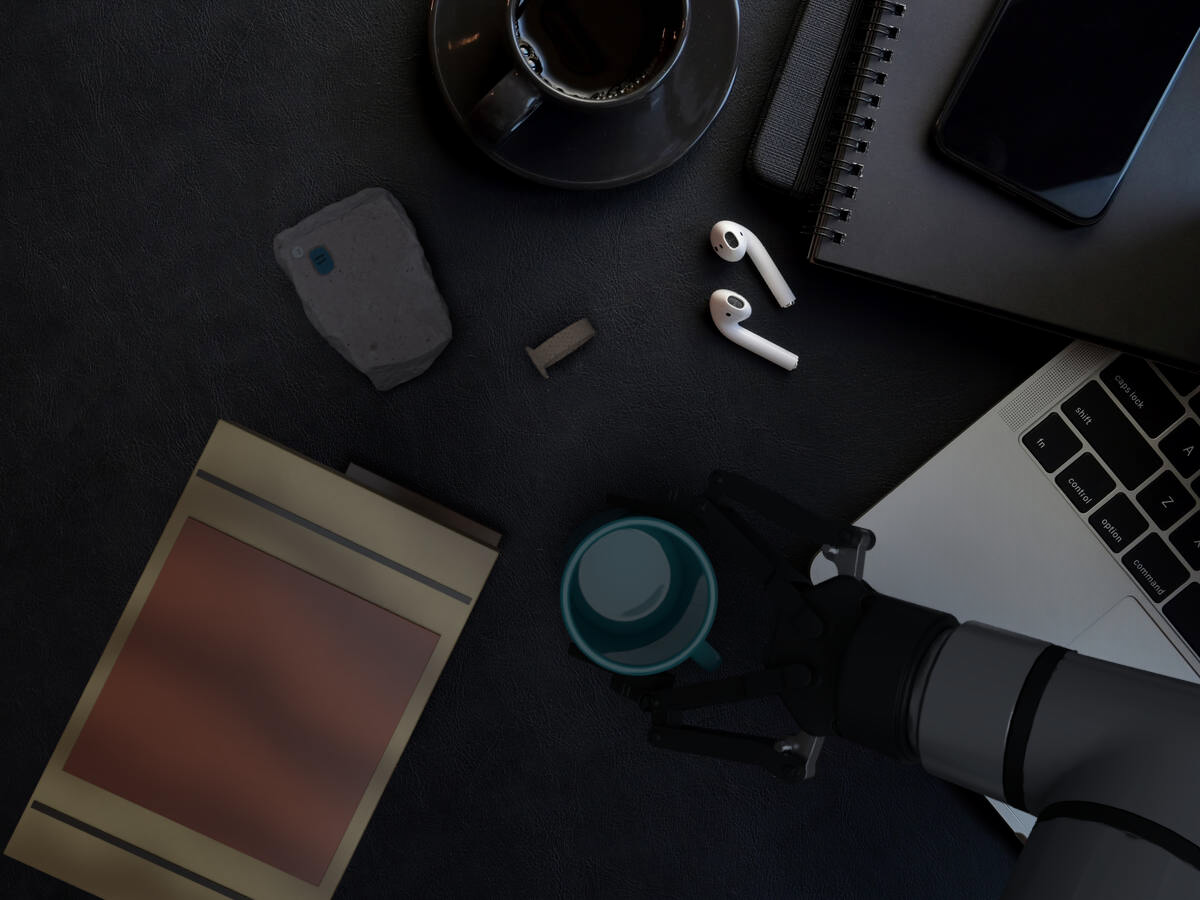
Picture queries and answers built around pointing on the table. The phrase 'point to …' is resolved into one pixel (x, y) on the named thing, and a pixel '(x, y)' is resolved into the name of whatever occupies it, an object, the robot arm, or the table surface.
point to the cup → (638, 594)
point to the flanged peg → (560, 345)
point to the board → (254, 685)
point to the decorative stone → (368, 286)
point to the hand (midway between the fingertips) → (601, 574)
